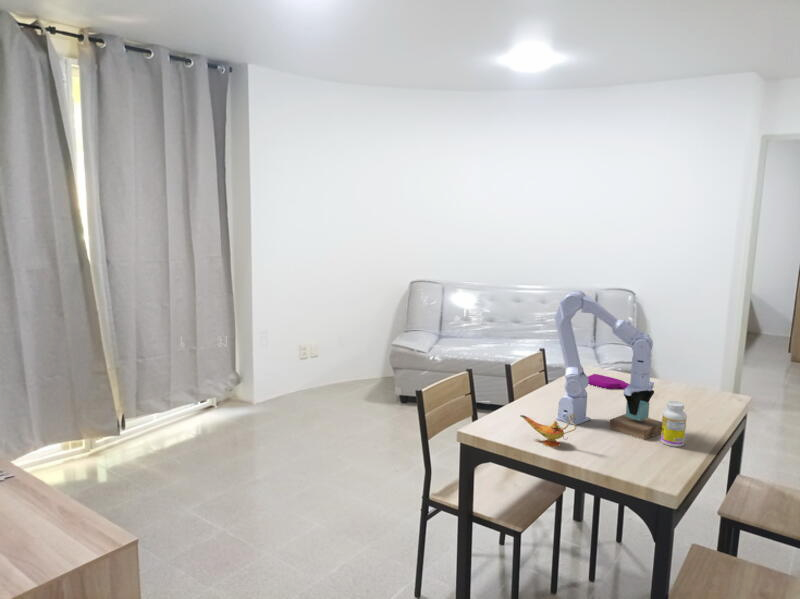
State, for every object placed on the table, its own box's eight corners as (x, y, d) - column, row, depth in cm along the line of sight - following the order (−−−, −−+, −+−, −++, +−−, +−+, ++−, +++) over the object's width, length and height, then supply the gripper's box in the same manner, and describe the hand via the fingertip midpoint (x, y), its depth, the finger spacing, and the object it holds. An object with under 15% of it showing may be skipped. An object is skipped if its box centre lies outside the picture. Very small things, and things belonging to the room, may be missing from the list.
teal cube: (640, 420, 182) (641, 405, 182) (625, 416, 186) (626, 401, 186) (648, 417, 185) (649, 402, 185) (634, 413, 189) (635, 398, 189)
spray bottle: (594, 379, 244) (652, 393, 227) (582, 384, 237) (640, 399, 219) (595, 372, 244) (653, 386, 226) (582, 377, 236) (641, 392, 219)
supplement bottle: (663, 437, 180) (667, 398, 179) (686, 442, 176) (690, 403, 174) (657, 443, 175) (661, 403, 173) (681, 449, 171) (684, 408, 169)
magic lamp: (523, 432, 183) (524, 399, 182) (578, 445, 173) (580, 410, 172) (514, 438, 178) (515, 405, 176) (571, 453, 168) (573, 417, 166)
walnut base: (643, 439, 178) (644, 430, 178) (609, 428, 187) (609, 419, 187) (663, 431, 185) (664, 422, 185) (629, 420, 195) (629, 412, 194)
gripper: (640, 379, 176) (637, 420, 178) (664, 371, 185) (660, 411, 187) (619, 373, 181) (616, 414, 183) (643, 366, 190) (640, 405, 192)
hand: (637, 412), depth 185 cm, fingers closed on teal cube, 5 cm apart
